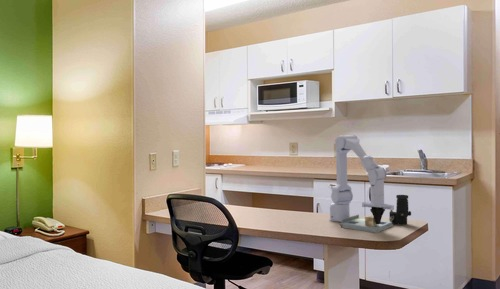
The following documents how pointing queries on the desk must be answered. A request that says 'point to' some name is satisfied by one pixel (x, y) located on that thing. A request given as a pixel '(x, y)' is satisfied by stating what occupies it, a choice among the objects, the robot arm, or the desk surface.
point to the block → (370, 221)
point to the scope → (400, 211)
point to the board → (363, 224)
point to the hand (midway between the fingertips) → (378, 223)
